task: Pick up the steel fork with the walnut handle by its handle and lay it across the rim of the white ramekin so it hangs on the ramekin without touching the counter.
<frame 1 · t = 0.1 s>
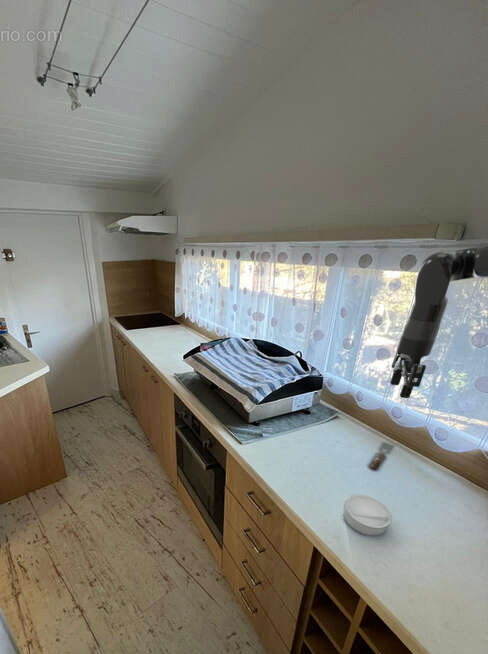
hand: (398, 390, 88), 29 cm above the worktop, tool pointing down, fingers open, 8 cm apart
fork: (377, 462, 105), on the worktop
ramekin: (362, 523, 83), on the worktop
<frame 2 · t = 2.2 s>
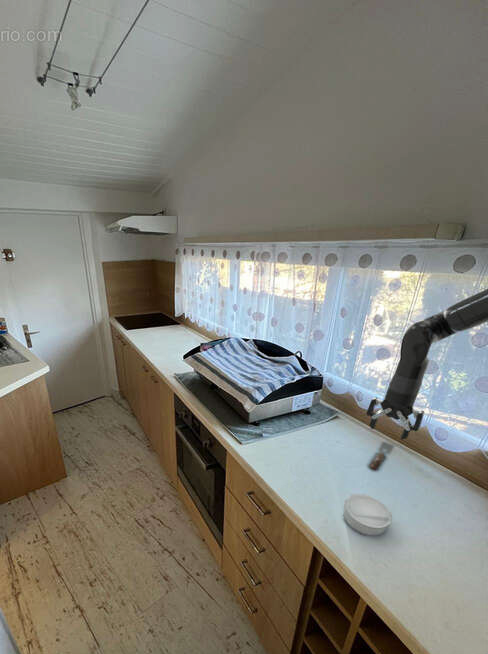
hand: (387, 433, 98), 13 cm above the worktop, tool pointing down, fingers open, 8 cm apart
nothing on the worktop moved.
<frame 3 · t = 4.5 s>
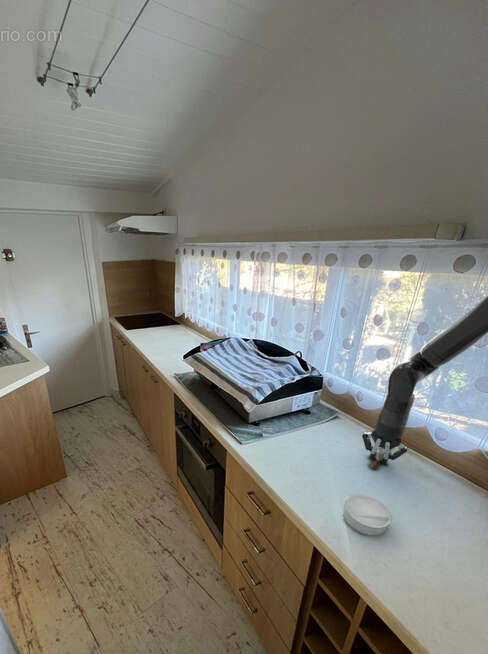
hand: (376, 463, 104), 0 cm above the worktop, tool pointing down, fingers closed on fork, 2 cm apart
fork: (377, 462, 105), on the worktop, touching gripper
everything else where it was.
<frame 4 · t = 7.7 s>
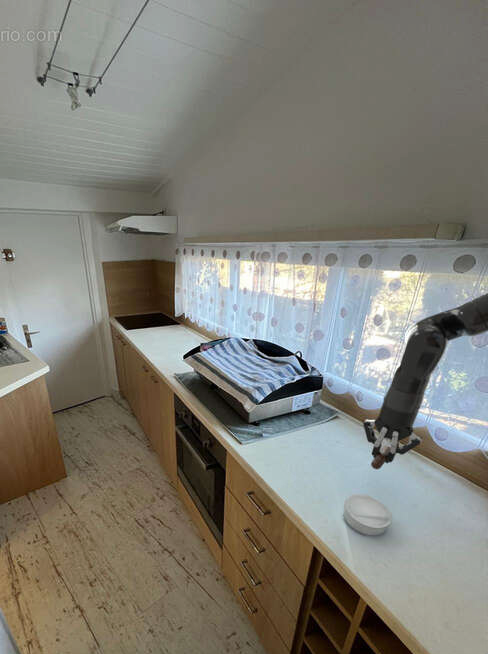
hand: (381, 459, 83), 15 cm above the worktop, tool pointing down, fingers closed on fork, 2 cm apart
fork: (382, 457, 84), point 15 cm above the worktop, touching gripper
everything else where it was.
when the fingers open (6 cm above the worktop, at t = 11.2 s): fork stays where it is, resting on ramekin.
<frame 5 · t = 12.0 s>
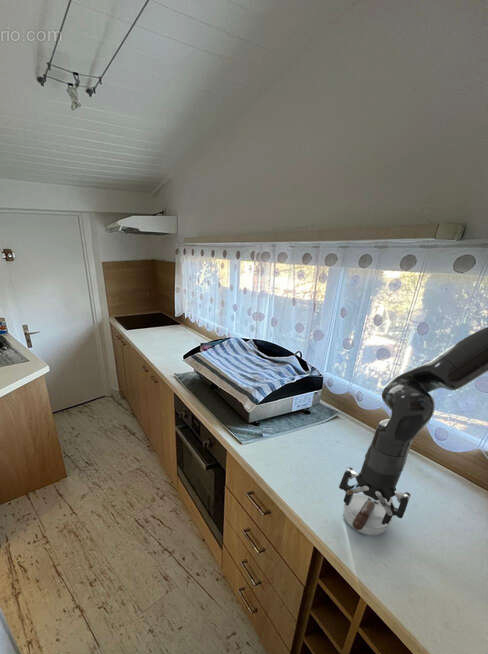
hand: (365, 512, 78), 7 cm above the worktop, tool pointing down, fingers open, 8 cm apart
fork: (365, 513, 79), point 5 cm above the worktop, touching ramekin
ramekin: (362, 523, 83), on the worktop, touching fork
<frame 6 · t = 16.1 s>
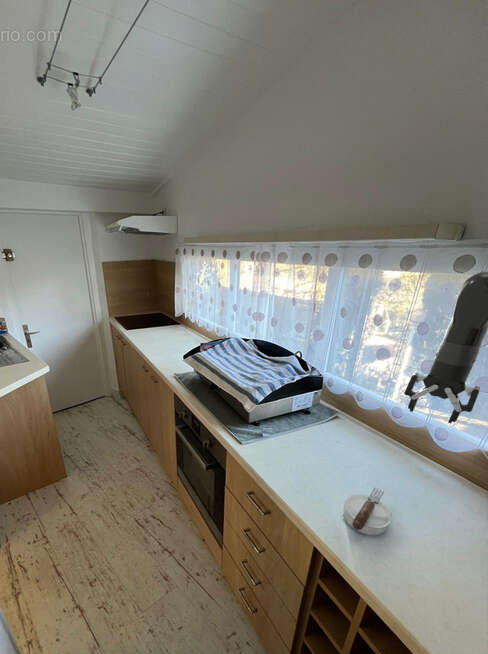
hand: (430, 416, 82), 26 cm above the worktop, tool pointing down, fingers open, 8 cm apart
nothing on the worktop moved.
at the end: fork touching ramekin; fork point 5.3 cm above the worktop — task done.
